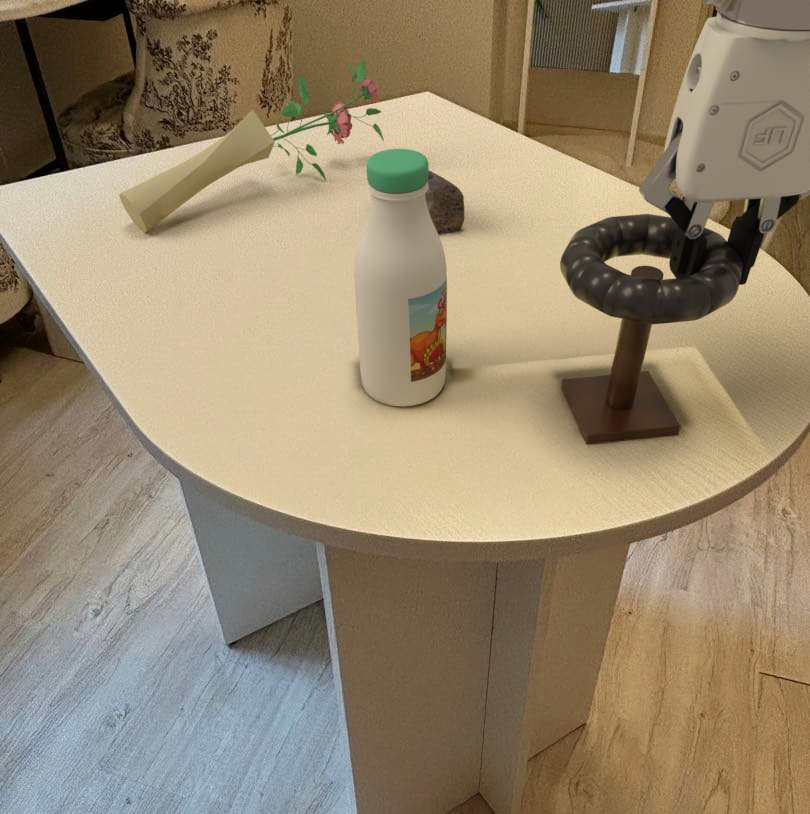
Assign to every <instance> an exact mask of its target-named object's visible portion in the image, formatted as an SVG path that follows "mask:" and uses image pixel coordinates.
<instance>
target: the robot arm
mask: <svg viewBox="0 0 810 814" xmlns="http://www.w3.org/2000/svg"><path fill="white" fill-rule="evenodd" d="M701 2H702V4H703V5H713V6H714V7H715V11H717V12H716V16H712V17H708V18H707V19H706V20H705V22H704V25H703V27H702V29H701V32H700V33H699V37H698V39H697V41H696V43H695V46H694V49H693V52H692V53H691V56H690V58H689V61H688V65H687V67H686V70H685V72H684V74H683V75H684V76H683V79H682V81H681V85H680V87H679V91H678V94H677V98H676V101H675V105H674V108H673V111H672V115H671V119H670V123H669V127H668V131H667V135H666V139H665V144H664V148H663V153H662V155H661V156H660V157H659V159H658V160H657V162H656V163H655V165H654V166H653V167H652V168H651V170H649V172H648V174H647V175H646V177H645V178H644V180H643V181H642V183H641V184H640V186H638V187H639V188H638V192H639V194H640V196H641V197H642V198H643V199H644V201H646V203H649V204H650V205H651V206H653V207H655V208H657V209H659V210H661V211H662V212H665V213H666V214H668V216H669V217H671V218H672V219H673V220H674V221H675V223H676V224H677V225H678V228H677V232H676V236H675V240H674V245H673V249H672V253H671V257H670V259H669V261H668V262H669V263H668V264H669V270H670V272H671V273H672V275H673V276H674V278H685V277H690V276H692V275H694V274H696V273H698V272H699V269H700V267H701V264H702V260H703V256H704V253H705V249H706V245H707V240H706V238H705V237H704V236H703V235H702V233H703V230H704V227H705V228H706V225H707V222H708V219H709V217H710V215H711V212H712V209H713V206H714V204H715V203H717V202H719V203H720V202H731V201H744V206H743V210H742V211H743V213H742V215H738V216H735V219H734V220H733V221H732V224H731V227H730V230H729V234H728V237H727V240H726V241H727V242H728V243H729V244H730V245H731V247H732V248H733V249H734V250H735V251H736V252H737V253H738V254H739V256H740V258H741V259H742V263H743V270H742V274H741V279H740V283H739V286H742V285H743V286H744V285H746V284H747V282H748V278H749V275H750V272H751V269H752V268H754V267H755V264H756V261H757V258H758V255H759V252H760V249H761V246H762V242H763V240H764V236H765V234H768V233H770V232H772V231H773V230H774V229H775V227H776V225H777V220H779V219H780V218H781V217H782V216H784V215H785V214H786V213H787V212H788V211H790V210H791V209H792V208H794V206H796V205H797V203H799V200H803V199H806V198H807V197H809V196H810V0H701ZM674 180H675V184H676V188H677V190H678V191H679V192H680V195H678V194H677V192H675V191H674V190H671V189H670V186H671V184H672V183H673V182H674Z"/></svg>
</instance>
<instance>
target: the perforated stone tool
mask: <svg viewBox="0 0 810 814" xmlns="http://www.w3.org/2000/svg"><path fill="white" fill-rule="evenodd" d="M427 182H428V186H429V188H428V190H427V192H426V193H425V198H426V204H427V207H428V211H429V214H430V217H431V220H432V222H433V224H434V226H435V229H436V231H437V233H438V235H443V234H450V233H454V232H458V231H460V230H461V229H462V227H463V226H464V223H465V201H464V200H465V199H464V198H465V196H464V194H463V192H462V191H461V190H460V188H459V187H458V186H457V185H455V184H454V183H452V182H451V181H449V180H448V179H446V178H445V177H442V176H441V175H439V174H437V173H435V172H433V171H431V170H429V175H428V181H427Z"/></svg>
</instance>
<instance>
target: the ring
mask: <svg viewBox="0 0 810 814" xmlns="http://www.w3.org/2000/svg"><path fill="white" fill-rule="evenodd" d="M677 228H678V225H677V224H676V223H675V221H674V220H673V219H672V218H671V216H664V215H659V214H653V213H652V214H651V213H640V214H639V213H638V214H630V215H629V214H628V215H617V216H608V217H606V218H604V219H601V220H598V221H596V222H594V223H592V224H589V225H587V226H584V227H583V228H580V229H579V230H577V231H576V232H575V233H574V234H573V235H572V237H571V238H570V240H569V241H568V243H567V246H566V247H565V249H564V251H563V253H562V255H561V257H560V261H559V268H560V272H561V275H562V277H563V279H564V280H565V282H566V284H567V285H568V287H569V289H570V291H571V293H572V294H573V296H574V297H575V298H576V299H578V300H579V301H581V302H582V303H584V304H587V305H588V306H590V307H592V308H594V309H596V310H597V311H599V312H601V313H603V314H605V315H607V316H609V317H611V318H616V319H621V320H622V319H626V320H632V321H637V322H643V323H648V324H652V325H663V324H672V323H674V324H675V323H683V322H692V321H698V320H700V319H703V318H704V317H707V316H709V315H710V314H712V313H715V311H717V310H719V309H722V308H723V307H724V306H727V305H728V304H729V303H731V302H732V301H733V300H734V298H735V297H736V295H737V294H738V291H739V286H740V285H739V283H740V279H741V274H742V270H743V263H742V259H741V258H740V256H739V254H738V253H737V252H736V251H735V250H734V249H733V248H732V247H731V245H730V244H729V243H728V242H727V241H728V240H726V239H725V237H724V236H723V235H722V234H720V233H719V232H717V231H714V230H712V229H709V228H708V227H706V226H705V227H704V230H703V233H702V235H703V236H704V237H705V238H706V240H707V245H706V249H705V253H704V256H703V260H702V264H701V267H700V269H699V272H698V273H696V274H694V275H692V276H690V277H685V278H676V277H674V278H665V279H664V278H663V280H657V279H651V278H645V277H639V276H633V275H631V274H627V273H625V272H623V271H621V270H619V269H617V268H615V267H613V266H611V265H609V264H607V263H606V262H607V261H610V260H611V259H614V258H616V257H617V258H618V257H627V256H629V257H630V256H639V255H641V256H642V255H643V256H650V257H655V258H661V259H666V260H670V257H671V253H672V249H673V245H674V240H675V236H676V232H677Z"/></svg>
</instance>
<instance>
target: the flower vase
mask: <svg viewBox="0 0 810 814" xmlns="http://www.w3.org/2000/svg"><path fill="white" fill-rule="evenodd" d="M348 66H349V69H350V73H351V76H352V79H351V82H350V87H351V89H352V91H353V92H352V93H353V94H352V100H351V101H349V102H348V103H346V104H345V103H342V102H341V101H340V100H338V102H337V101H335V102H334V106H333V107H331V112H329V113H323V114H324V115H322V116H320V117H317V118H315V119H313V120H311V121H309V122H307V123H304V124H302V122H303V118H304V115H302V114H305V113H304V112H305V109H303V108H305V107H306V105H307V104H310V102H311V96H310V94H309V89H308V85H307V82H306V80H305V78H304V77H303V75H302V74H301V73H300V72H298V88H299V96H301V100H300V104H299V103H297V102H295V101H291V100H287V105H286V106H285V107H284V108H283V110H282V111H281V113H280V116H283V117H287V118H289V120H288V123H287V125H289V124H290V121H291V120H292V118H294V117H297V118H298V117H299V116H300V124H299V126H298V127H295V128H294V129H292V130H289V126H287V127H286V128H287V130H286V131H287V132H286V133H285V131H284V130H283V129H282V128H281V126H280V125H279V122H276V123H275V124H276V129H277V130H276V131H275V132H273V133H272V134H270V132H269V131H268V130H267V128H266V127H265V125H264V123H263V122H262V120H260V118H259V117H258V115H257V114H256V112H255V110H254V109H253V108H252V109H251V110H250V111H249V112H248V113H247V114H246V115H245V116H244V117H243V118H242V119H241V120H240V121H239V123H238V124H236V125H235V126H234V127H233V129H231V130H230V131H228V132H227V133H226V134H225V135H224V136H223V137H221V138H219V139H218V140H217V141H215V142H214V143H212V144H211V145H209V146H208V147H206V148H205V149H203V150H201V151H200V152H199V153H197V154H195V155H193V156H192V157H190V158H188V159H187V160H185V161H182V163H179V164H177V165H176V166H173V167H172V168H170V169H167V170H165V171H163V172H160V173H159V174H157V175H155V176H153V177H150V178H148V179H147V180H145V181H142V182H140V183H139V184H137V185H135V186H132V187H130V188H127V190H124V191H122V192H120V194H119V196H118V197H119V199H120V202H121V205H122V206H123V208H124V210H125V211H126V213H127V215H128V216H129V218H130V220H131V221H132V222H133V223H134V224H135V226H136V227H137V228H138V229H139V230H140V231H141V232H143V233H144V234H146V233H147V232H148V231H150V230H151V229H152V228H154V227H156V226H157V225H158V224H159V223H160V222H162V221H163V220H164V219H166V217H168V216H169V215H171V214H172V213H174V212H175V211H176V210H178V208H180V207H181V206H183V205H184V204H185V203H186V202H188V201H190V199H192V198H193V197H194V196H196V195H197V194H198V193H200V192H201V191H203V190H204V189H206V188H207V187H208V186H209V185H211V184H213V183H215V182H216V181H218V180H220V179H221V178H223V177H225V176H227V175H229V174H230V173H231V172H233V171H235V170H237V169H239V168H240V167H243V166H246V165H248V164H252V163H255V162H260V161H262V160H266V159H269V158H270V155H271V153H272V150H273V148H274V147H275V148H276V147H277V148H280V149H282V150H284V151H285V154H287V156H288V157H291V153H290V152H289V151H288V149H286V148H285V147H284V146H283V145H282V144H281V143H278V142H277V145H275V143H276V141H279V140H281V139H283V140H285V141H286V142H288V143H289V144H291V145H292V146H293V147H294V148H295V150H297V159H296V164H295V176H297V175H299V174H301V172H302V171H303V168H304V162H303V161H302V160H301V158H300V157H299V154H300V156H302V158H303V159H304V161H306V163H308V164H309V165H310V166H312V168H313V169H315V170H317V172H318V173H319V174H320V176H321V177H322V178H323V179H324V181H327V178H326V175H325V173H324V171H323V169H322V168H321V166H320V165H319V164H318V163H316V162H314V163H313V162H312V163H310V162H309V161H308V160H307V159H306V158H305V156H303V154H302V153H301V151H300V150H302V151H306V152H307V153H308V154H309V155H311V156H314V157H317V156H318V153H317V152H316V150H315V148H314V147H313V146H312V145H311V144H309V143H306V146H305V149H304V148H301V147H299V148H298V147H297V146H295V145H294V144H293V143H292V142H291V141H289V140H288V139H287V138H286V137H290V136H292V135H294V134H297V133H301V132H304V131H307V130H311V129H314V128H318V127H323V126H328V130H327V133H326V136H328V135H330V134H331V136H332V137H333V138H334V139H333V140H334V142H337V145H341V144H342V145H344V143H345V141H344V140H346V139H347V138H349V137H350V136H351V130H352V129H353V123H352V118H354V119H355V120H357V121H359V122H361V123H364V124H365V125H367V126H369V127H372V128H373V130H374V131H375V132H376V133H377V134H378V136H379V137H380V138H381V140H382V142H385V139H384V136H383V133H382V131H381V128H380V127H379V125H378V124H377V123H374V124H373V125H371V124H368V123H366V122H364V121H362V120H360V118H364V117H365V116H368V117H369V116H374V115H378V114H381V113H382V112H383V111H382V110H380V109H378V108H376V107H375V108H374V107H369V108H366V111H365V114H364V115H362V116H353V115H352V114H351V113H350V112H349V110H348V108H347V107H348V106H350V105H352V104H353V103H355V102H356V101H358V100H360V99H361V98H363V103H365V102H366V101H368V102H370V104H371V105H373V104H376V100H375V99H377V101H378V100H379V97H380V95H379V91H378V85H377V83H376V82H375V81H373V79H372V78H370V77H368V76H366V74H367V66H366V62H365V58H362V59H361V60H360V62H359V64H357V67H356V71H355V73H354V68H353V66H352V64H351V63H350V62H348ZM355 81H356V84H355V86H354V88H353V84H354V83H355ZM358 83H362V84H361V86H360V88H358V90H359V92H360V95H359V96H357V97H356V98H355V97H354V96H355V92H356V91H355V90H356V87H357V85H358ZM303 103H304V105H303ZM301 112H302V114H301ZM325 118H326V119H327V122H320V123H316V122H318V121H321V120H322V119H325ZM279 131H280V132H281V133H283V134H280V135H278V136H275V137H273V136H274V135H275V134H276V133H278V132H279ZM343 139H344V140H343Z"/></svg>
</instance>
